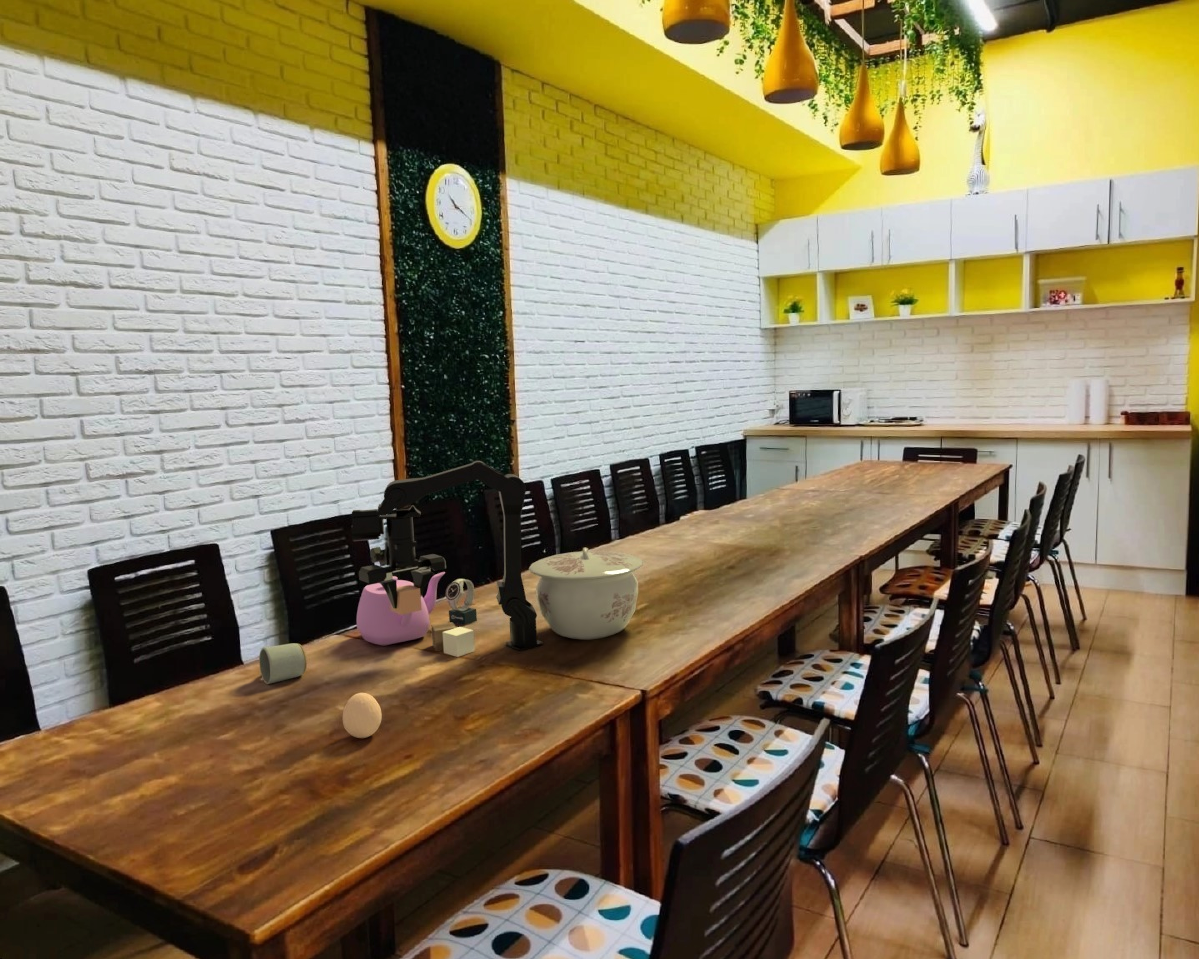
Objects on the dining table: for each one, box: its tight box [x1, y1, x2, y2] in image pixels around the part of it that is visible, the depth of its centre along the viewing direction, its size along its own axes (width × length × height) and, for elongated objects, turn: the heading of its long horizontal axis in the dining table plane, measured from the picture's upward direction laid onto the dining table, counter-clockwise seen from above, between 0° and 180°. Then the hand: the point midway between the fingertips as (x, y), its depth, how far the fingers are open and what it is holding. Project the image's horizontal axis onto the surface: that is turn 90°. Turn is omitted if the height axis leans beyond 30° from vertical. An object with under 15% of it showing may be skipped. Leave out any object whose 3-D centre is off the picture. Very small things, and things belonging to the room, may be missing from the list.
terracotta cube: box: [390, 585, 422, 615], centre depth 193 cm, size 5×5×5 cm
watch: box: [445, 578, 478, 626], centre depth 221 cm, size 6×8×11 cm
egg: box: [342, 692, 383, 739], centre depth 152 cm, size 7×7×8 cm
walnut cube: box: [430, 622, 457, 652], centre depth 201 cm, size 5×5×5 cm
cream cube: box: [442, 626, 476, 658], centre depth 197 cm, size 5×5×5 cm
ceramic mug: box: [258, 642, 308, 685], centre depth 185 cm, size 11×8×8 cm
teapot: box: [356, 571, 446, 647], centre depth 210 cm, size 23×21×15 cm
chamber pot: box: [528, 547, 644, 641], centre depth 207 cm, size 28×28×21 cm
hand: (406, 605), depth 193 cm, fingers closed on terracotta cube, 5 cm apart
